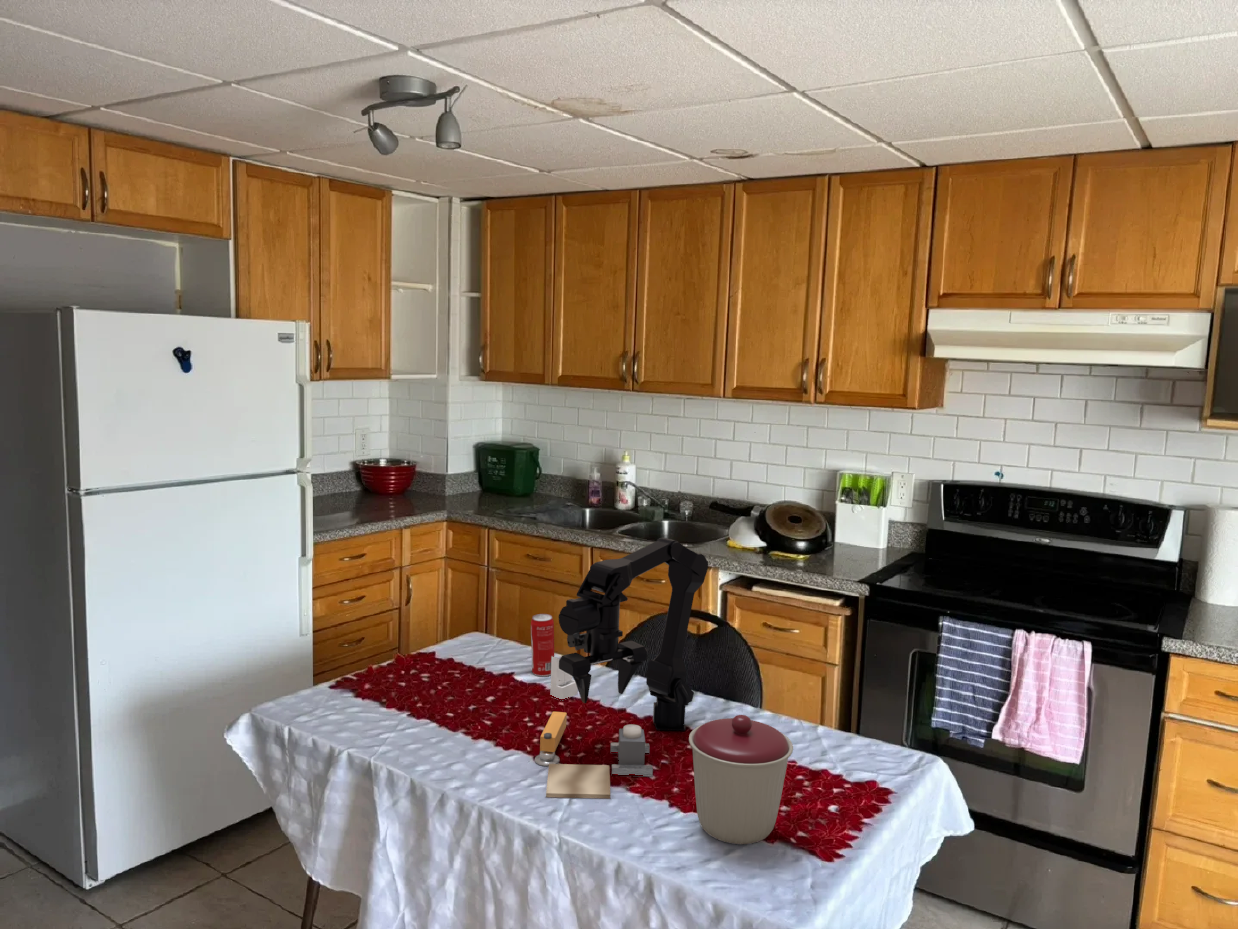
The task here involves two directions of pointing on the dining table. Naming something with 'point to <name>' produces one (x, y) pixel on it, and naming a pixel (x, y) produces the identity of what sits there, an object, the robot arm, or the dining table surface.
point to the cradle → (645, 770)
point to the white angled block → (561, 682)
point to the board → (578, 781)
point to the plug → (631, 745)
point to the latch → (553, 732)
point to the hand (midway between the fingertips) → (602, 698)
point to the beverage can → (542, 644)
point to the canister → (738, 777)
